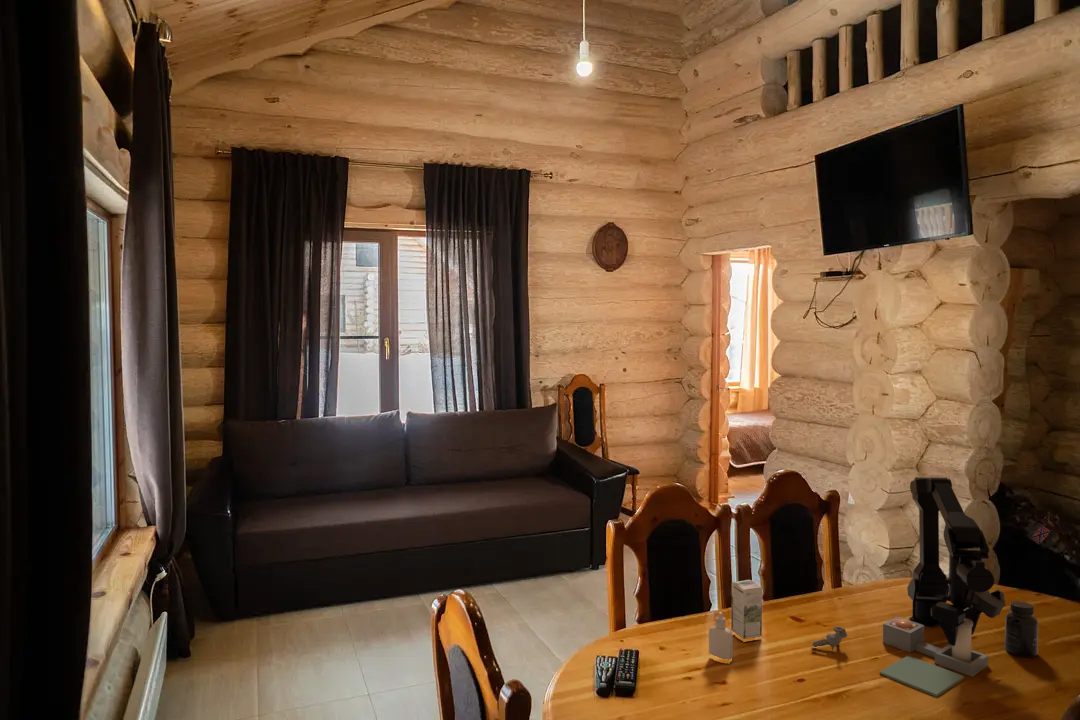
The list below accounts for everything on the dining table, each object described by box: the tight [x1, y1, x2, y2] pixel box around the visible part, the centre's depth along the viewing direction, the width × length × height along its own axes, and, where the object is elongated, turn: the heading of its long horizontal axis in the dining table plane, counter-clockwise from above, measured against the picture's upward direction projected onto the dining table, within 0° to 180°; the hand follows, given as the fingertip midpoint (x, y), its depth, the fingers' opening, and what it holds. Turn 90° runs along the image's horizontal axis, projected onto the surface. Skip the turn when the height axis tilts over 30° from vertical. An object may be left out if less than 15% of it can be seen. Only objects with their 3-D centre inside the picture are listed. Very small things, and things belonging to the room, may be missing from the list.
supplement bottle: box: [1004, 600, 1039, 658], centre depth 180 cm, size 7×7×12 cm
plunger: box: [891, 618, 917, 631], centre depth 186 cm, size 4×4×6 cm
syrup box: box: [730, 579, 763, 639], centre depth 191 cm, size 6×6×14 cm
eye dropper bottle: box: [708, 611, 734, 660], centre depth 179 cm, size 4×6×12 cm
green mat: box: [879, 655, 965, 698], centre depth 170 cm, size 13×13×1 cm
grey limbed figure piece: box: [810, 624, 848, 652], centre depth 184 cm, size 10×6×9 cm
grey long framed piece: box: [882, 616, 989, 677], centre depth 180 cm, size 22×8×5 cm, turn 36°
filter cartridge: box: [952, 618, 973, 663], centre depth 175 cm, size 5×5×11 cm
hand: (961, 639), depth 175 cm, fingers open, 9 cm apart
